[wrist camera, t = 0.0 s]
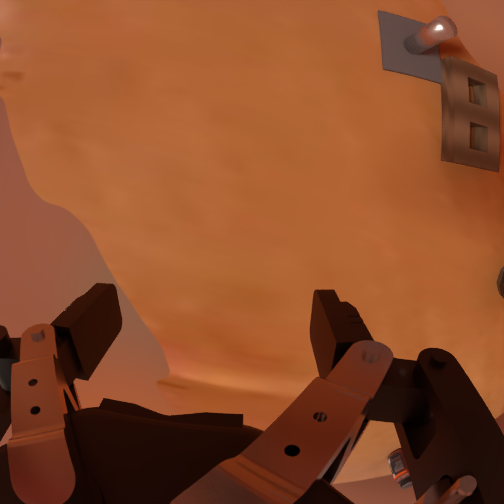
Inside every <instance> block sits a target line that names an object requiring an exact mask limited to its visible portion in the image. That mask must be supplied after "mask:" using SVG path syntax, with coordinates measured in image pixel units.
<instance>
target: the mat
mask: <svg viewBox="0 0 504 504" xmlns="http://www.w3.org/2000/svg"><path fill="white" fill-rule="evenodd" d="M378 17H379V26H380V36H381V48H382V62H383V70H388V71H393V72H397V73H402V74H406V75H410V76H414V77H418V78H422V79H425V80H429V81H432V82H436V83H439V84H442V74H441V63H440V53H439V45H436V46H434V47H432V48H430V49H428V50H426V51H424V52H422V53H420V54H418V55H413V54H411V53H409V52H408V51H407V50H406V49H405V47H404V44H403V42H404V39H405V38H406V37H408V36H409V35H411V34H412V33H414V32H415V31H417V30H419V29H420V28H422V27H423V26H425V25H426V24H425V23H422V22H419V21H415V20H412V19H409V18H406V17H402V16H399V15H395V14H391V13H387V12H383V11H378Z"/></svg>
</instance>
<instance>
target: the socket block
mask: <svg viewBox="0 0 504 504" xmlns="http://www.w3.org/2000/svg"><path fill="white" fill-rule="evenodd" d="M440 63H441V74H442V84H441V96H442V153H441V160H442V161H447V162H452V163H457V164H462V165H467V166H471V167H476V168H480V169H485V170H490V171H495V172H499V158H500V110H499V93H498V83H497V76H496V75H495V74H493V73H491V72H489V71H487V70H484V69H482V68H480V67H478V66H475V65H473V64H470V63H468V62H466V61H463V60H461V59H458V58H455V57H453V56H449V57H447V58H444V59H442V60H440ZM468 85H470V86H473V93H474V103H471V102H469V86H468ZM470 126H472V127H475V143H474V149H471V148H470Z"/></svg>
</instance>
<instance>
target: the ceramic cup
mask: <svg viewBox="0 0 504 504" xmlns="http://www.w3.org/2000/svg"><path fill="white" fill-rule="evenodd" d="M497 286H498V291H499V293H500V295H501V296H502V297H503V298H504V267H503V268H502V269H501V271H500V274H499V277H498V280H497Z"/></svg>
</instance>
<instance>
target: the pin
mask: <svg viewBox="0 0 504 504" xmlns="http://www.w3.org/2000/svg"><path fill="white" fill-rule="evenodd" d="M456 35H457V28H456V25H455V24H454V22H453V21H452V20H451V19H450V18H448V17H446V16H439V17H438V18H436V19H434V20H433V21H431V22H430V23H428V24H426V25H425V26H423V27H422V28H420V29H419V30H417V31H415V32H414V33H412V34H411V35H409V36H408V37H406V38H405V39H404V42H403V44H404V47H405V49H406V50H407V51H408V52H409V53H411V54H413V55H418V54H420V53H422V52H424V51H426V50H428V49H430V48H432V47H434V46H436V45H438V44H440V43H442V42H444V41H446V40H449V39H451V38H453V37H455V36H456Z"/></svg>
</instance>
